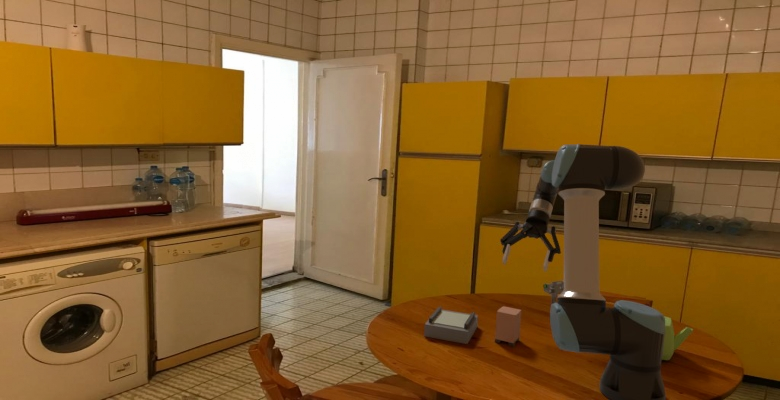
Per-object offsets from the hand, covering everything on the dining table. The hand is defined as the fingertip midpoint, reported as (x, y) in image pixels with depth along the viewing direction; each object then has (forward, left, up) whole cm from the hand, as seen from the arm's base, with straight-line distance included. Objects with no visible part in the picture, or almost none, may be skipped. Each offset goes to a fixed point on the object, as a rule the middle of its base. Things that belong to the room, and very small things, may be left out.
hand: (523, 265), depth 167 cm
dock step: (-12, +20, -22) cm, 32 cm away
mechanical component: (+29, -10, -22) cm, 38 cm away
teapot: (-2, -41, -22) cm, 46 cm away
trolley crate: (-12, +2, -22) cm, 25 cm away
